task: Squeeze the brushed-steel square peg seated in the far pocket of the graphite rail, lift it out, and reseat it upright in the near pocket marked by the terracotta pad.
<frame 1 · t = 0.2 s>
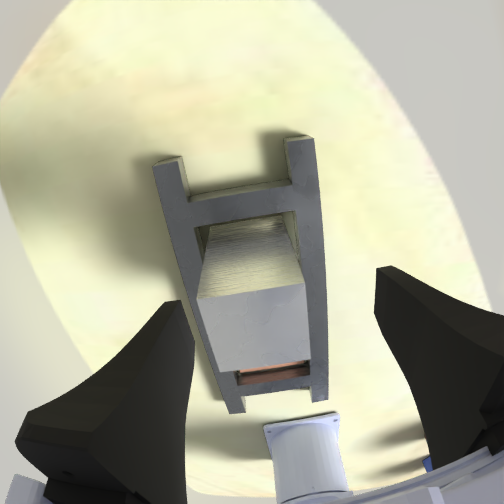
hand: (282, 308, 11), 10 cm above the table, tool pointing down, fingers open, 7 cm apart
rail: (260, 302, 23), on the table
steel peg: (251, 252, 21), resting in rail
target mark: (267, 342, 25), resting in rail
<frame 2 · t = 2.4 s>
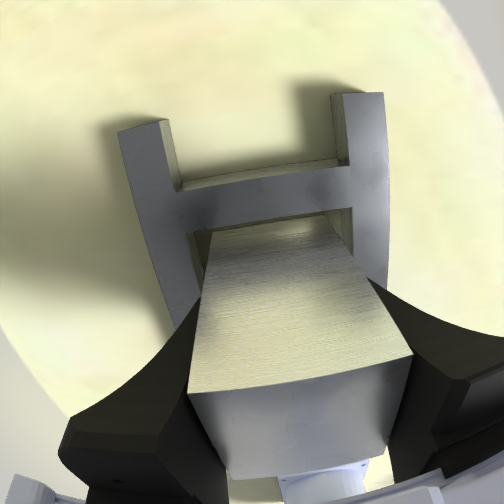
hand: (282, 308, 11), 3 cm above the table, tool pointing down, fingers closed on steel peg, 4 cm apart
rail: (284, 341, 16), on the table
steel peg: (275, 272, 14), resting in rail, touching gripper
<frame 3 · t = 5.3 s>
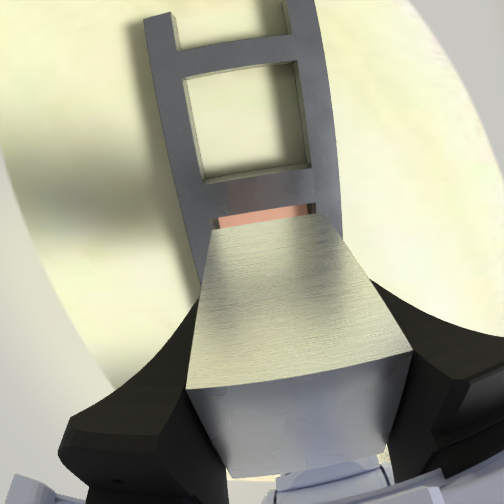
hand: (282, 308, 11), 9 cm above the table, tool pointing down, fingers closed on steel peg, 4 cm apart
rail: (258, 186, 19), on the table
steel peg: (274, 269, 14), point 7 cm above the table, touching gripper
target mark: (268, 246, 21), resting in rail
when the fingers open (4 cm above the table, at t = 8.4 s): steel peg stays where it is, resting on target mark.
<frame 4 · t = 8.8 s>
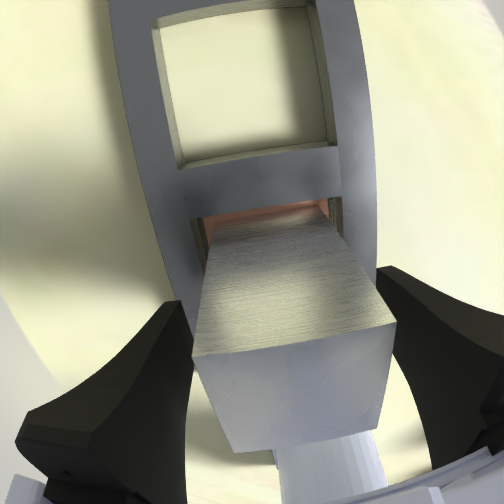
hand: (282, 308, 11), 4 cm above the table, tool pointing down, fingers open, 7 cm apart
rail: (259, 173, 13), on the table
steel peg: (273, 259, 15), resting on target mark
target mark: (272, 258, 15), resting in rail
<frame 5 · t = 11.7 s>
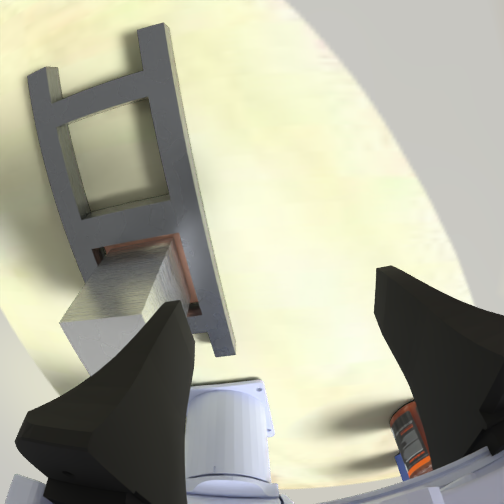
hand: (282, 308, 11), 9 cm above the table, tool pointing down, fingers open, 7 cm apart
supplement bottle: (410, 410, 31), on the table
rail: (134, 217, 20), on the table
steel peg: (150, 273, 21), resting on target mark
walkman: (414, 451, 37), on the table
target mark: (151, 271, 21), resting in rail
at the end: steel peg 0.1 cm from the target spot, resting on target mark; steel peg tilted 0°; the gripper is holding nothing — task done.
